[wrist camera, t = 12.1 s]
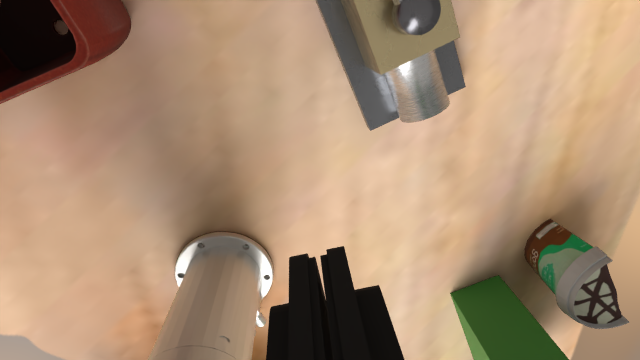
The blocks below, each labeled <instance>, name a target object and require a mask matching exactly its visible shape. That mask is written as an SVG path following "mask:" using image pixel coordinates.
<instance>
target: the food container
mask: <svg viewBox="0 0 640 360" xmlns="http://www.w3.org/2000/svg"><path fill="white" fill-rule="evenodd" d="M525 258H526V260H527V262H528V263H529V264H530V266H531V267H532V268H533V269H534V270H535V271H536V273H537V274H538V275H539V276H540V277H541V279H542V280H543V281H544V282H545V283H546V284H547V286H548V287H549V288H550V289H551V290H552V291H553V293H554V294H555V295H556V301H557V304H558V306H559V308H560V309H561V310H562V311H563V312H564V313H565V314H567V315H568V316H570V317H571V318H572V319H574V320H575V321H577V322H578V323H581V324H583V325H585V326H588V327H591V328H595V329H607V328H613V327H618V326H621V325H624V324H627V323H629V321H628V320H627V319H626V318H625V317H623V316H622V315H621V311H620V309H619V306H618V302H617V292H616V289H615V286H614V284H613V282H612V279H611V276H610V274H609V270H608V267H607V264H608V263H610V262H612V260H611V259H610V258H609V257H607V255H606V254H605V253H604V252H603V251H602V250H600V249H599V248H598V247H597V246H595V247H592V246H591V245H589V244H588V243H586V242H585V241H583V240H582V239H580V238H579V237H577V236H576V235H574V234H573V233H571V232H569V231H568V230H566V229H565V228H563V227H562V226H560V225H559V224H557V223H556V222H554V221H553V220H551V219H549V220H548V221H546V222H544V223H543V224H541V225H540V226H539V227H538V228H537V229H536V230H535V231H534V232H533V233H532V234H531V236H530V237H529V239H528V240H527V243H526V246H525Z"/></svg>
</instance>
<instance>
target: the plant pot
mask: <svg viewBox="0 0 640 360" xmlns="http://www.w3.org/2000/svg"><path fill="white" fill-rule="evenodd" d="M55 20H63V21H64V22H65V23H66V25H67V26H68V33H67V34H66V35H60V34H58V33H57V32H55V30H54V28H53V22H54V21H55ZM130 29H131V20H130V16H129V14H128V13H127V11H126V9H125V7H124V5H123V3H122V2H121V0H1V3H0V104H1V103H3V102H6V101H8V100H10V99H13V98H15V97H17V96H19V95H22V94H24V93H26V92H28V91H31V90H33V89H35V88H38V87H40V86H42V85H45V84H47V83H49V82H52V81H54V80H56V79H59V78H61V77H63V76H65V75H68V74H70V73H72V72H75V71H77V70H79V69H82V68H84V67H86V66H89V65H91V64H93V63H96V62H98V61H99V60H101V59H103V58H105V57H106V56H108V55H110V54H111V53H113V52H114V51H115V50H117V49H118V48H119V47H120V46H121V45H122V44H123V43H124V41H125V40H126V39H127V37H128V35H129V32H130Z"/></svg>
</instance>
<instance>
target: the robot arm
mask: <svg viewBox="0 0 640 360" xmlns="http://www.w3.org/2000/svg"><path fill="white" fill-rule="evenodd" d="M321 265H322V273H323V281H324V288H325V295H324V291H323V287H322V283H321V279H320V274H319V270H318V266H317V262H316V258H315V257H312V258H309V257H308V254H303V255H298V256H293V257H290V258H289V303H288V304H283V305H278V306H273V307H271V309H270V316H269V329H268V342H267V355H266V360H404V357H403V354H402V351H401V348H400V346H399V343H398V340H397V337H396V334H395V331H394V328H393V325H392V322H391V319H390V316H389V313H388V310H387V307H386V304H385V301H384V298H383V295H382V292H381V290H380V287H379V285H377V286H372V287H367V288H362V289H357V290H354V287H353V282H352V278H351V274H350V270H349V266H348V261H347V257H346V253H345V249H344V246H342V247H337V248H332V249H327V255H322V256H321ZM175 278H176V282H177V285H178V286H179V289H178V291H177V293H176V296H175V298H174V300H173V303H172V305H171V307H170V310H169V312H168V314H167V317H166V319H165V321H164V324H163V326H162V328H161V331H160V333H159V335H158V338H157V340H156V342H155V345H154V347H153V349H152V351H151V354H150V356H149V358H148V360H251V359H252V350H253V342H254V336H255V334H256V330H255V325H257V326H258V327H262V326H264V325H265V323H266V319H265V317H264V316H263V315H262V313H260V304H261V300H262V299H263V298H264V297H265V296H266V294H267V293H268V292H269V290H270V287H271V285H272V281H273V264H272V262H271V259H270V257H269V255H268V254H267V252H266V251H265V250H264V249H263V248H262V247H261V246H260V245H259V244H258V243H257V242H255V241H254V240H252V239H250V238H248V237H246V236H244V235H240V234H236V233H230V232H214V233H209V234H205V235H203V236H200V237H198V238H196V239H194V240H193V241H191V242H190V243H189V244H188V245H187V246H186V247H184V249H183V250H182V252H181V253H180V255H179V257H178V259H177V262H176V266H175ZM325 296H326V299H325Z"/></svg>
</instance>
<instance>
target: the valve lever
mask: <svg viewBox="0 0 640 360" xmlns="http://www.w3.org/2000/svg"><path fill="white" fill-rule="evenodd" d="M392 1H393V3H394V6H393V9H392V21H393V24H394V26H395V28H396V29H397V30H398V31H399V32H401V33H403V34H407V35H423V34H425V33H427V32H429V31H430V30H432V29H433V28H434V26H435V25H436V24H437V22H438V20H439V17H440V13H441V4H440V1H439V0H392Z"/></svg>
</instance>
